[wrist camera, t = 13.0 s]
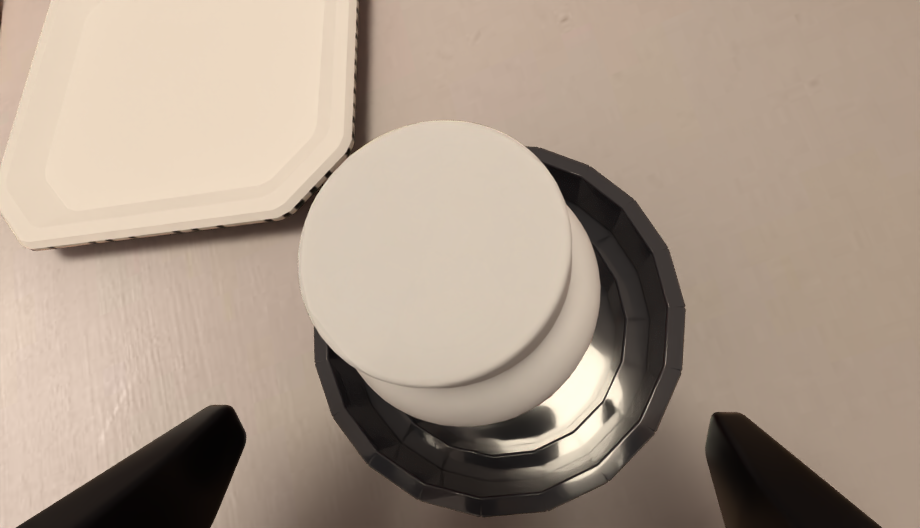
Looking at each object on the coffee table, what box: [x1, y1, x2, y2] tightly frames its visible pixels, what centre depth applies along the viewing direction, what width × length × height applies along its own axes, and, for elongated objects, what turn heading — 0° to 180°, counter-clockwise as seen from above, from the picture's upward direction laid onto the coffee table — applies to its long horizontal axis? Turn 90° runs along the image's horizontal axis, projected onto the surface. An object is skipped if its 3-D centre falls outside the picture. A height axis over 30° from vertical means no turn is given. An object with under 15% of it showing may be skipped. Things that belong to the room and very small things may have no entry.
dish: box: [314, 146, 686, 517], centre depth 16 cm, size 11×11×5 cm
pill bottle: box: [298, 120, 601, 427], centre depth 12 cm, size 6×6×11 cm
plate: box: [0, 0, 359, 251], centre depth 24 cm, size 21×21×2 cm
